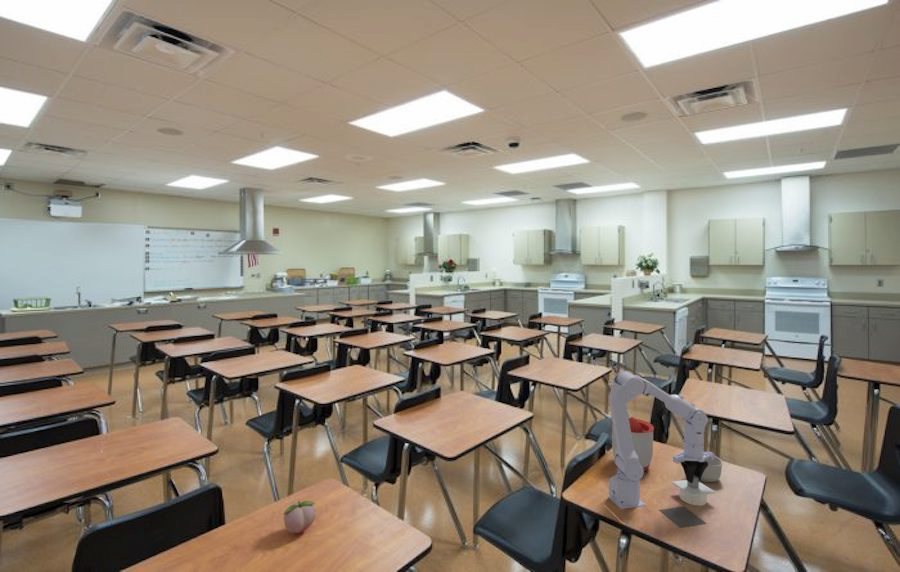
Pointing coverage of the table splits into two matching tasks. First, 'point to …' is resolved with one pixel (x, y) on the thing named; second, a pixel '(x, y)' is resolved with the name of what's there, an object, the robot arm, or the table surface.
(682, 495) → the bowl
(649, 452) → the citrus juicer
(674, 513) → the mat
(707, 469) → the teacup
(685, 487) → the lid
